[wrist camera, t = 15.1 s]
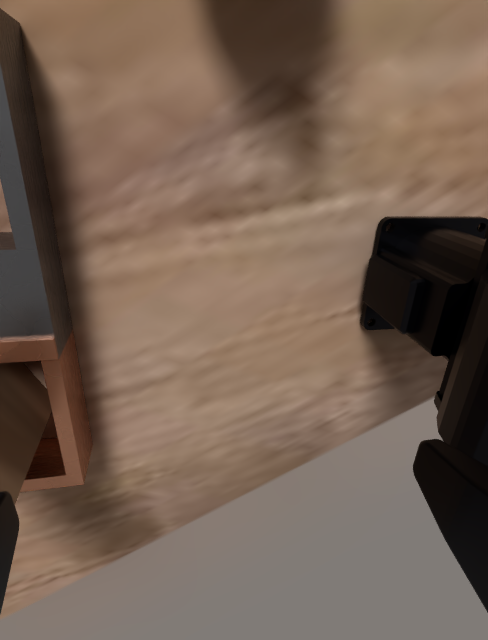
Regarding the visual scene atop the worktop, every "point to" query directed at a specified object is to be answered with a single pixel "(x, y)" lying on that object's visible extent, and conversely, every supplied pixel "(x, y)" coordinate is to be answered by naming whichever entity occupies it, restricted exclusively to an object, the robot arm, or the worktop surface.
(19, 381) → the peg
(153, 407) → the worktop surface
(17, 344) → the rail
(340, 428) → the worktop surface
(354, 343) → the worktop surface
